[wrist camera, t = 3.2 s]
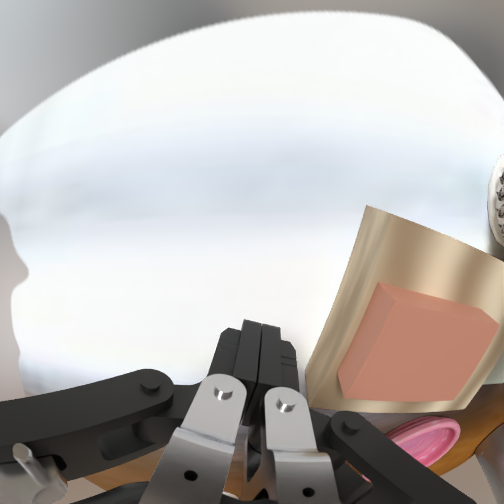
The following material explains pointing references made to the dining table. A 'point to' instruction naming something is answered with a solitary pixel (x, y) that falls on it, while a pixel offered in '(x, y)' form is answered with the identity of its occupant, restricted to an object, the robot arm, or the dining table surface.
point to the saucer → (426, 438)
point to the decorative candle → (497, 200)
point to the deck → (412, 278)
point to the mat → (496, 372)
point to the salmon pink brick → (414, 347)
